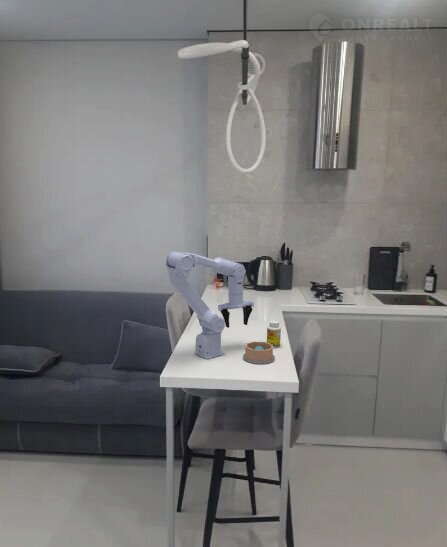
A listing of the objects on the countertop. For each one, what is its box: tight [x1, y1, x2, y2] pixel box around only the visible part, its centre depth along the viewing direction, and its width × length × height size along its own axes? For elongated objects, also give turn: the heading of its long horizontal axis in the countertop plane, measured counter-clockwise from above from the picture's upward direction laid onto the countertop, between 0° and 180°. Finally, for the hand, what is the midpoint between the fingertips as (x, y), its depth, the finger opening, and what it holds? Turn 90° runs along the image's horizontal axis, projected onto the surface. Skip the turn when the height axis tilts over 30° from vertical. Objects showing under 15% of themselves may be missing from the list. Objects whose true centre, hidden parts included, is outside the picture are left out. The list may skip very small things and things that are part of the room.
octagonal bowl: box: [242, 340, 276, 365], centre depth 173 cm, size 12×12×5 cm
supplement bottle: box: [266, 320, 282, 349], centre depth 187 cm, size 6×6×10 cm
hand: (236, 325), depth 183 cm, fingers open, 7 cm apart
